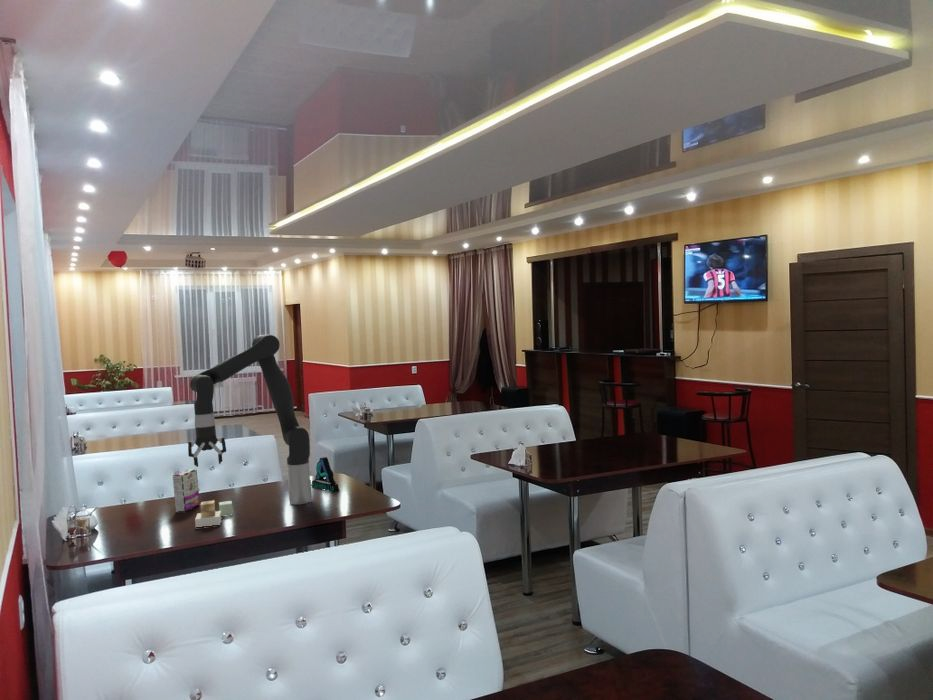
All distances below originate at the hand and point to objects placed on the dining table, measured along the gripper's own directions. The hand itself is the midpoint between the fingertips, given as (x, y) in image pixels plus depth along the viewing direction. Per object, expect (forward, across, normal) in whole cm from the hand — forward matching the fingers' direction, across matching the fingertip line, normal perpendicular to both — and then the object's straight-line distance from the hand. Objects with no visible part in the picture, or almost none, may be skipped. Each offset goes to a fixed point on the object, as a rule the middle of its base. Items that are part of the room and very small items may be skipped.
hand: (208, 464), depth 283 cm
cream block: (+24, +2, +2) cm, 24 cm away
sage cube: (+23, -6, -9) cm, 26 cm away
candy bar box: (+23, +9, -28) cm, 38 cm away
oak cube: (+20, +2, +2) cm, 20 cm away
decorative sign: (+24, -51, -29) cm, 63 cm away
